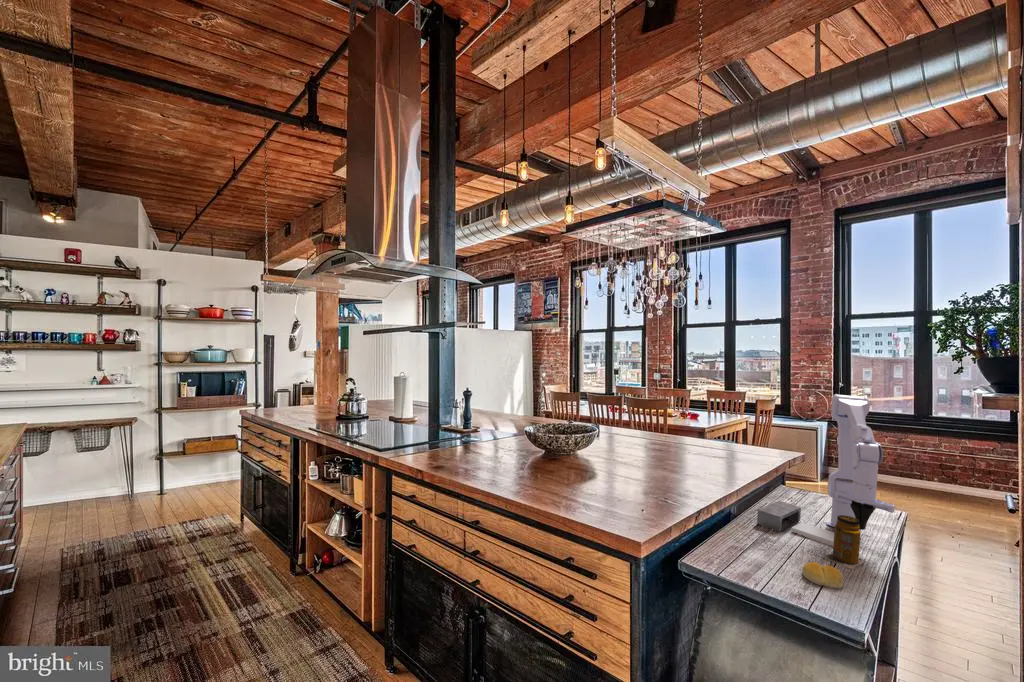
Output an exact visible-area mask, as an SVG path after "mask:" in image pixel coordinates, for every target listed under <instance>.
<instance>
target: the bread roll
mask: <svg viewBox="0 0 1024 682" xmlns="http://www.w3.org/2000/svg"><path fill="white" fill-rule="evenodd" d="M801 571H802V572H801V573H802V575H803V576H804V578H806V579H807V580H808V581H810V582H811V583H813V584H816V585H819V586H825V587H827V588H830V589H841V588H843V587H844V580H843V578H844V575H843V574H842V573H841V571H839V569H838V568H836V567H834V566H832V565H829V564H825V565H821V564H820V563H817V562H815V561H812V562H807V563H805V564H804V565H803V566H802V569H801Z"/></svg>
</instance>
